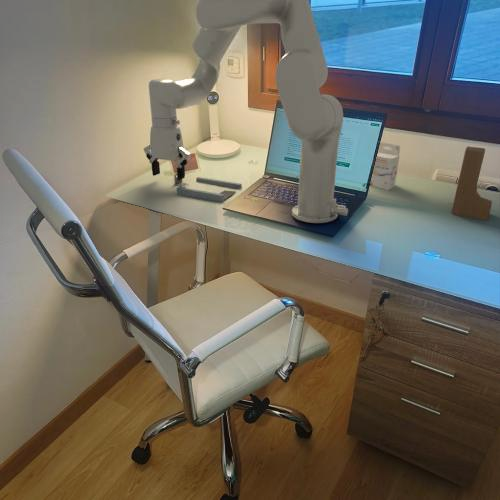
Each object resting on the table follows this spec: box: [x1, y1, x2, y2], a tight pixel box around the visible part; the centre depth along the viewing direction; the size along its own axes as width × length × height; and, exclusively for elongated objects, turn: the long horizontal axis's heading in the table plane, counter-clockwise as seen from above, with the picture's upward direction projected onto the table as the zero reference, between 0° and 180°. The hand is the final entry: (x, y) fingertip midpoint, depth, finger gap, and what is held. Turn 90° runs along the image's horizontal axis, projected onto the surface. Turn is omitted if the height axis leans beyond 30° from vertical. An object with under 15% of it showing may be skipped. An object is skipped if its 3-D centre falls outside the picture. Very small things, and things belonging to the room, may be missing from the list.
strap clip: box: [173, 172, 190, 188], centre depth 143 cm, size 8×3×4 cm, turn 44°
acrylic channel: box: [176, 176, 242, 203], centre depth 137 cm, size 16×12×2 cm
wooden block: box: [450, 146, 493, 221], centre depth 116 cm, size 9×4×18 cm, turn 62°
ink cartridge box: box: [369, 141, 401, 191], centre depth 135 cm, size 9×5×15 cm, turn 46°
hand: (168, 176), depth 142 cm, fingers open, 9 cm apart
